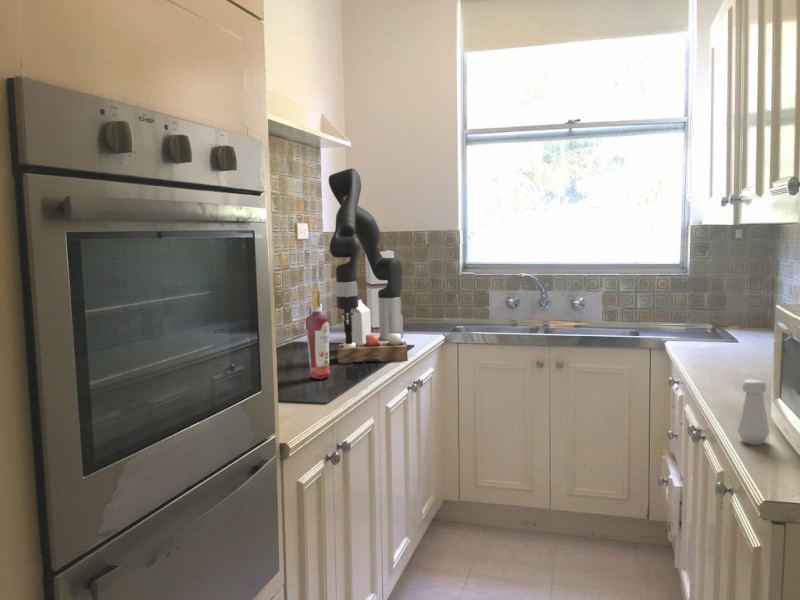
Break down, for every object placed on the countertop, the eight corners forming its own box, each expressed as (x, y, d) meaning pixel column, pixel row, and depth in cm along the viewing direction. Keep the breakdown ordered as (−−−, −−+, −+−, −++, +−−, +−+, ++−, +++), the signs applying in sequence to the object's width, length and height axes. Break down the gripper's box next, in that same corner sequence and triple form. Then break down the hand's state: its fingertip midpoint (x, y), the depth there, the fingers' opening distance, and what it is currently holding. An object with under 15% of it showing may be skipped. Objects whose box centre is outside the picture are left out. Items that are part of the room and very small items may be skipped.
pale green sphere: (343, 354, 238) (342, 344, 238) (343, 352, 242) (343, 342, 242) (355, 354, 238) (355, 344, 238) (356, 351, 243) (355, 342, 242)
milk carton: (371, 349, 260) (369, 299, 258) (363, 352, 254) (360, 301, 252) (355, 348, 263) (353, 299, 261) (346, 351, 257) (344, 301, 255)
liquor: (321, 381, 209) (317, 290, 206) (303, 379, 213) (298, 290, 210) (336, 376, 215) (332, 288, 212) (318, 374, 219) (314, 287, 216)
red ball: (365, 346, 238) (365, 336, 238) (366, 344, 243) (365, 334, 242) (378, 346, 238) (378, 336, 238) (378, 343, 243) (378, 334, 242)
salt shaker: (739, 435, 146) (741, 376, 145) (770, 439, 143) (771, 378, 141) (735, 443, 141) (736, 381, 140) (766, 447, 138) (768, 385, 137)
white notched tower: (396, 330, 303) (393, 251, 298) (372, 332, 300) (369, 252, 296) (390, 326, 314) (388, 250, 310) (368, 328, 311) (365, 251, 307)
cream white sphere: (388, 345, 239) (388, 335, 238) (388, 343, 243) (388, 333, 242) (401, 345, 239) (401, 335, 238) (400, 342, 243) (400, 333, 243)
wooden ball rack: (338, 363, 236) (337, 349, 235) (339, 357, 245) (338, 344, 245) (407, 360, 237) (407, 346, 236) (405, 355, 246) (405, 341, 246)
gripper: (337, 292, 244) (339, 340, 246) (335, 296, 231) (337, 347, 233) (358, 292, 245) (360, 340, 247) (357, 296, 232) (359, 346, 234)
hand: (349, 343), depth 240 cm, fingers closed
